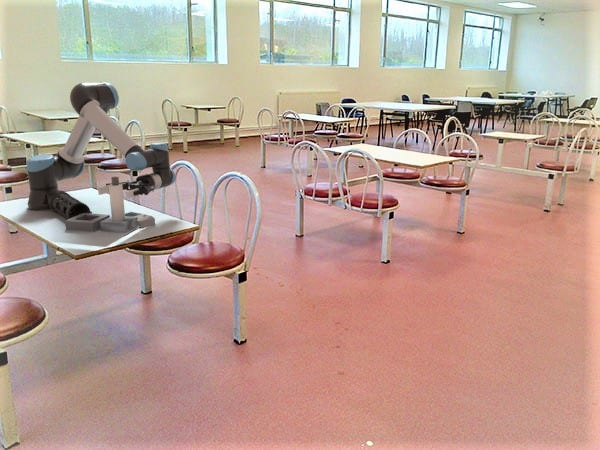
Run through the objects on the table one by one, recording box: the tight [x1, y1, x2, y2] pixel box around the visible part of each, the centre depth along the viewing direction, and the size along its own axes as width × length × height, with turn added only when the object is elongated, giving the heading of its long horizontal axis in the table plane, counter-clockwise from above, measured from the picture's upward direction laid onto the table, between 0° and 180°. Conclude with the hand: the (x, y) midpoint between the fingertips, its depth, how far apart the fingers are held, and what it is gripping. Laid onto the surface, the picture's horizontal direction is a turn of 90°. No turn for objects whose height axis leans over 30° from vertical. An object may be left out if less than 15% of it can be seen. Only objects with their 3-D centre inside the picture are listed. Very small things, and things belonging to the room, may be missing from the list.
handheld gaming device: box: [125, 211, 156, 230], centre depth 217 cm, size 9×15×4 cm, turn 61°
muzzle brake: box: [48, 189, 93, 220], centre depth 225 cm, size 10×28×10 cm
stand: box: [100, 215, 138, 237], centre depth 206 cm, size 10×10×5 cm
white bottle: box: [109, 176, 126, 221], centre depth 203 cm, size 5×5×17 cm
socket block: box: [64, 212, 111, 233], centre depth 208 cm, size 12×12×5 cm
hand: (112, 193), depth 201 cm, fingers open, 13 cm apart
